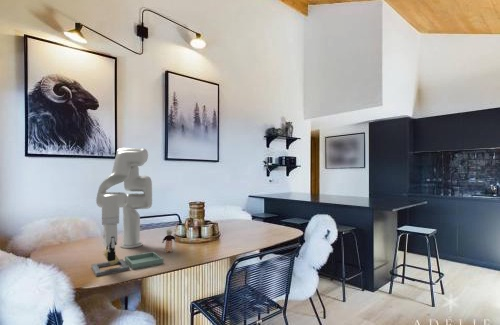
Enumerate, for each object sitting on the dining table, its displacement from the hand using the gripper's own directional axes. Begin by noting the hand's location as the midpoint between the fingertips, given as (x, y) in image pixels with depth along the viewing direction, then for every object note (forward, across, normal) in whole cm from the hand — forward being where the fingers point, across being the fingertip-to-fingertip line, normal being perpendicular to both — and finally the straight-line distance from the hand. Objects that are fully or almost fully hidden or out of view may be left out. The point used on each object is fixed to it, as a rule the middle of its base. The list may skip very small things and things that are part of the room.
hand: (110, 258), depth 140 cm
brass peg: (+2, 0, +2) cm, 3 cm away
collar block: (+5, 0, 0) cm, 5 cm away
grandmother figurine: (+5, -11, +33) cm, 35 cm away
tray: (+5, 0, +15) cm, 16 cm away
